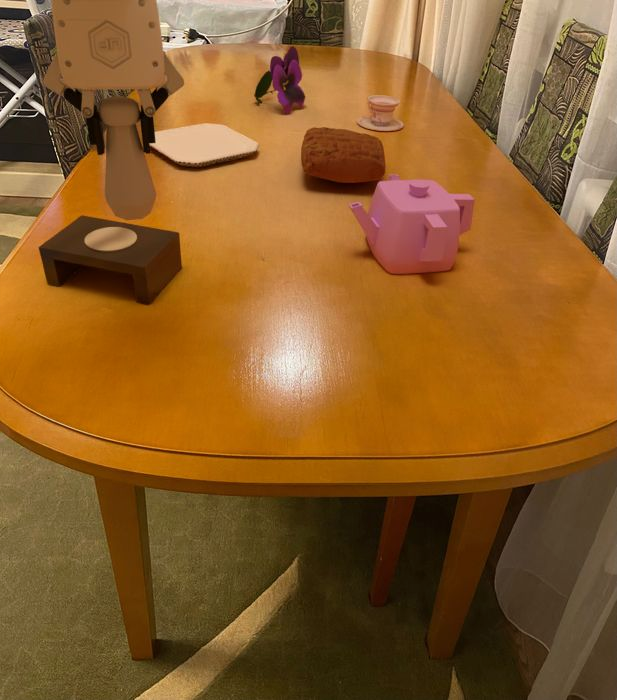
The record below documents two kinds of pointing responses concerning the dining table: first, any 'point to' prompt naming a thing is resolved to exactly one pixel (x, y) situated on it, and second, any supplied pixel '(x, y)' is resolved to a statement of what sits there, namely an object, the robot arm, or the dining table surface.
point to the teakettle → (414, 225)
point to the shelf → (114, 253)
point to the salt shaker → (125, 160)
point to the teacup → (381, 114)
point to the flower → (283, 81)
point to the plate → (203, 144)
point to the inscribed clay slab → (342, 155)
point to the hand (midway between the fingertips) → (124, 148)
